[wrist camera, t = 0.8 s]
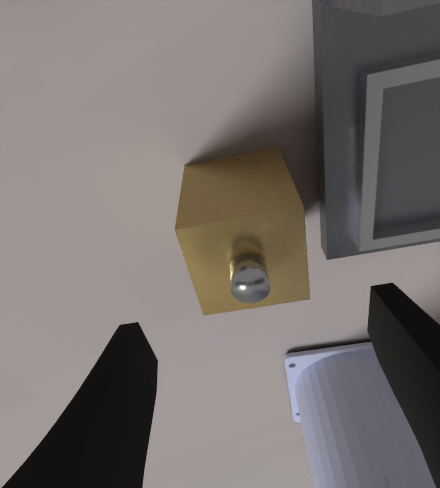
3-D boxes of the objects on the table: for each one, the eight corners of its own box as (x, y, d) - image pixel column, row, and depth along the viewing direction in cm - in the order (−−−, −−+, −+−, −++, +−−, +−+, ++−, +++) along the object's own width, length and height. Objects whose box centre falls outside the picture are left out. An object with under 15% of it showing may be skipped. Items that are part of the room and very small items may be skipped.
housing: (287, 225, 19) (317, 321, 14) (205, 239, 19) (203, 338, 14) (278, 146, 16) (311, 226, 11) (184, 164, 17) (171, 250, 11)
